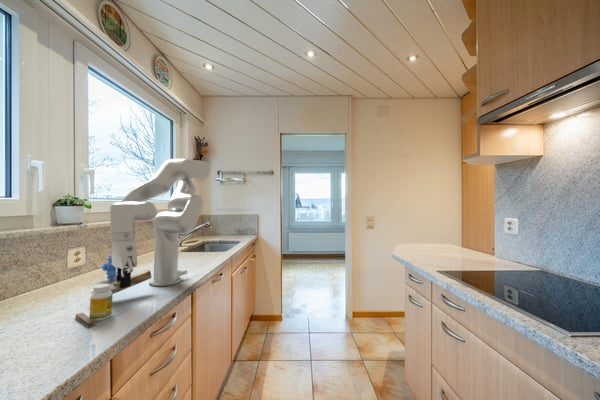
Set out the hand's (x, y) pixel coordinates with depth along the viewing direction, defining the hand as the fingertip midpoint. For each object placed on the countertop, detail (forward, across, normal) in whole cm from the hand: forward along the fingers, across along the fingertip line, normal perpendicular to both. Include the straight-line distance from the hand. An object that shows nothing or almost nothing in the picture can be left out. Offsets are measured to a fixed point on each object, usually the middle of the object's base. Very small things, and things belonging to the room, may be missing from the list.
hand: (123, 285), depth 94 cm
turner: (+1, 0, 0) cm, 1 cm away
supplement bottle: (+4, -13, +11) cm, 17 cm away
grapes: (+6, +30, -7) cm, 32 cm away
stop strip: (+3, -13, +15) cm, 20 cm away
